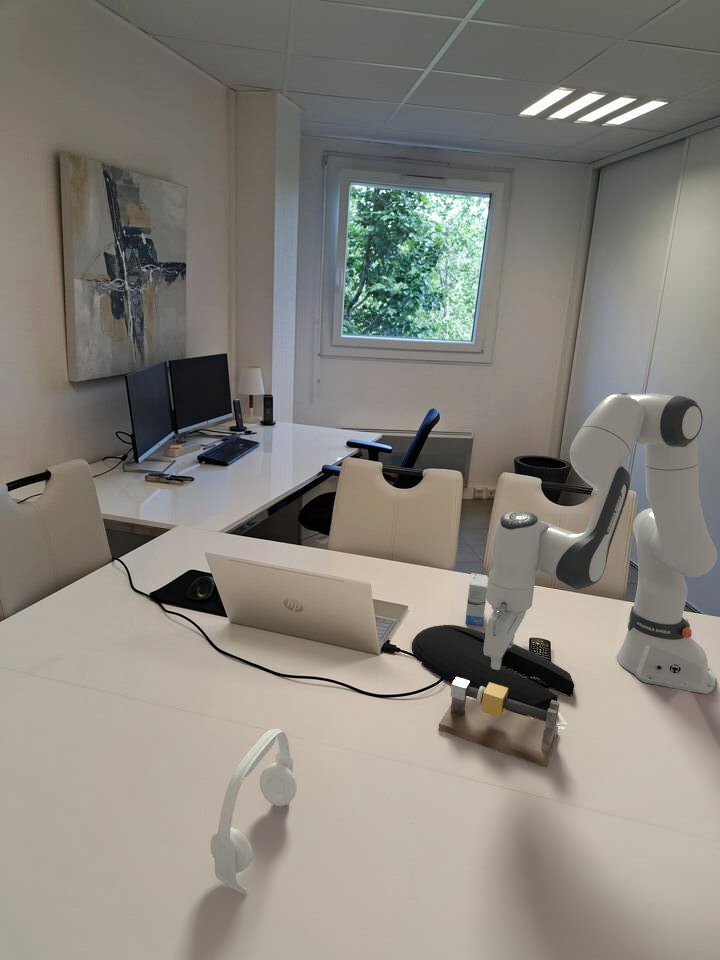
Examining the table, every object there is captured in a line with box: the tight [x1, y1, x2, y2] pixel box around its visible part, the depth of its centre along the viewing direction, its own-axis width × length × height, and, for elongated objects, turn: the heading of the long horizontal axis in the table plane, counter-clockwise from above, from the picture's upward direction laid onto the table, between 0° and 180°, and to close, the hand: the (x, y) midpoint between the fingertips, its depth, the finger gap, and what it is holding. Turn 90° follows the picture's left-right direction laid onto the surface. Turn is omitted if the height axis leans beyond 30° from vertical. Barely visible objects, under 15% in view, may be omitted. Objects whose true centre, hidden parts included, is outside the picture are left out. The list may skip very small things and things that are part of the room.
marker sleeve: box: [481, 682, 508, 718], centre depth 135 cm, size 4×4×4 cm
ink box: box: [465, 572, 489, 627], centre depth 182 cm, size 8×5×12 cm, turn 168°
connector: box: [450, 677, 470, 716], centre depth 138 cm, size 3×3×7 cm
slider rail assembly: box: [438, 696, 561, 768], centre depth 135 cm, size 22×12×10 cm, turn 64°
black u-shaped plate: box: [411, 624, 575, 717], centre depth 159 cm, size 25×40×5 cm, turn 48°
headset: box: [209, 728, 297, 896], centre depth 103 cm, size 20×7×18 cm, turn 159°
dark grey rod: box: [466, 686, 558, 723], centre depth 134 cm, size 18×4×4 cm, turn 64°
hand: (502, 656), depth 132 cm, fingers open, 8 cm apart
